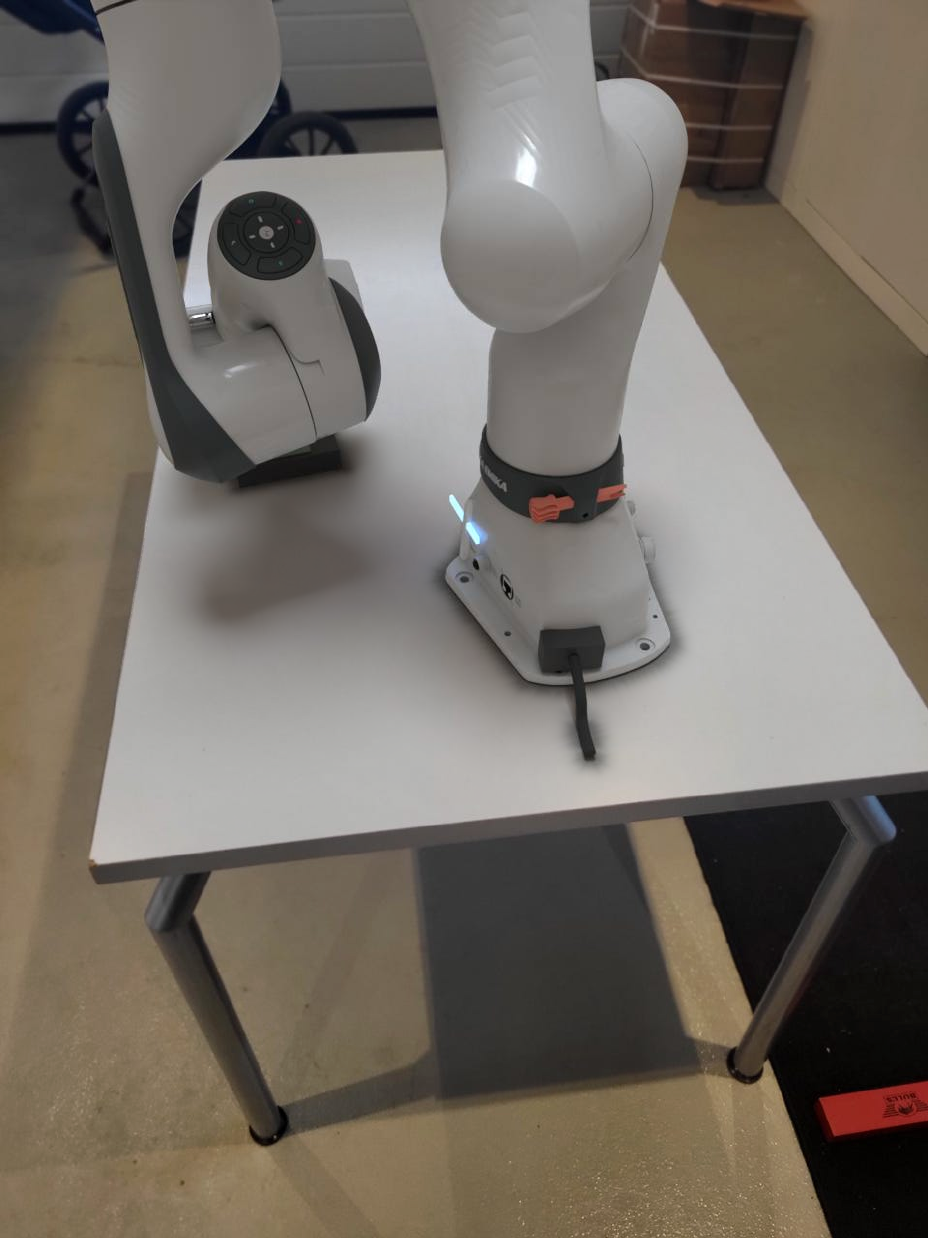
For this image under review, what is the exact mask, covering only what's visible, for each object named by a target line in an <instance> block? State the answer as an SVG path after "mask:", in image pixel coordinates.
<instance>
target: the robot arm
mask: <svg viewBox="0 0 928 1238" xmlns="http://www.w3.org/2000/svg"><path fill="white" fill-rule="evenodd" d="M89 1H90V3H91V6H92V9H93V11H94V14H97V15H96V16H95V17H96V19H97V23H98V25H99V28H100V31H101V35H102V38H103V42H104V45H105V50H106V55H107V61H108V62H107V64H108V93H107V94H108V95H107V102H106V107H105V108H103V109H102V111H101V112H100V113H99V114H98V116H97V117H96V118H95V119H94V120H93V122H92V124H91V127H92V128H91V148H92V156H93V163H94V169H95V174H96V178H97V179H96V180H97V183H98V188H99V193H100V196H101V201H102V204H103V205H102V206H103V209H104V214H105V215H104V216H105V220H106V221H105V222H106V226H107V231H108V235H109V238H110V243H111V246H112V249H113V250H112V251H113V254H114V258H115V263H116V266H117V270H118V273H119V278H120V281H121V287H122V290H123V293H124V298H125V302H126V305H127V309H128V310H127V311H128V314H129V318H130V322H131V325H132V330H133V332H134V337H135V340H136V342H137V346H138V350H139V354H140V359H141V363H142V367H143V371H144V382H145V395H146V406H147V413H148V418H149V422H150V423H149V424H150V426H151V429H152V432H153V433H152V434H153V436H154V438H155V440H156V442H157V444H158V447H159V448H160V450H161V452H162V453H163V455H164V456H165V458H166V459H167V460H168V461H169V463H170V464H171V465H172V467H173V468H174V470H175V471H177V472H179V473H182V474H183V475H186V476H189V477H191V478H194V479H198V480H200V481H204V482H207V483H212V484H217V485H218V484H219V485H222V484H225V483H227V482H228V481H231V480H233V479H235V478H236V477H237V476H239V475H241V474H243V473H245V472H247V471H249V470H251V469H253V468H255V467H257V466H256V465H257V464H260V463H262V462H265V461H268V460H270V459H273V458H275V457H278V456H281V455H283V454H286V453H288V452H291V451H293V450H296V449H299V448H301V447H304V446H306V445H309V444H312V443H314V442H316V440H319V439H321V438H324V437H327V436H329V435H332V434H334V435H335V434H337V433H339V432H342V431H344V430H346V429H349V428H352V427H354V426H356V425H359V424H361V423H363V422H366V421H368V419H369V417H370V416H371V414H372V412H373V410H374V408H375V405H376V403H377V399H378V395H379V391H380V387H381V382H382V364H381V358H380V353H379V348H378V346H377V342H376V338H375V336H374V333H373V329H372V327H371V325H370V322H369V321H368V319H367V315H366V313H365V309H364V303H363V300H362V296H361V292H360V288H359V284H358V283H357V280H356V277H355V274H354V271H353V269H352V266H351V264H350V262H349V261H348V260H347V259H339V258H338V259H337V258H336V259H334V258H325V256H324V251H323V245H322V240H321V236H320V232H319V230H318V228H317V226H316V223H315V221H314V219H313V217H312V216H311V215H310V213H309V212H308V211H307V210H306V208H305V207H304V206H303V205H301V204H300V203H299V202H297V201H296V200H294V199H293V198H291V197H289V196H287V195H284V194H281V193H278V192H274V191H268V190H258V191H257V190H256V191H250V192H247V193H243V194H241V195H238V196H236V197H235V198H233V199H231V200H230V201H228V202H227V203H226V204H225V205H224V206H223V207H222V208H221V209H220V210H219V212H218V213H217V215H216V216H215V217H214V219H213V223H212V225H211V228H210V231H209V235H208V241H207V253H206V268H207V269H206V270H207V278H208V279H207V280H208V284H209V288H210V291H209V293H210V301H211V303H208V304H201V305H195V306H188V307H186V302H185V299H184V298H185V297H184V294H183V288H182V285H181V280H180V275H179V271H178V266H177V262H176V257H175V252H174V244H173V231H174V230H173V229H174V224H175V221H176V217H177V214H178V212H179V210H180V207H181V206H182V204H183V203H184V201H185V199H186V198H187V196H188V195H189V194H190V192H192V190H193V189H194V188H195V187H196V186H197V184H198V183H199V182H201V181H202V180H203V179H204V178H205V177H206V176H207V175H208V174H209V173H210V172H212V170H213V169H215V168H216V167H217V166H219V164H221V162H223V161H224V160H225V159H226V158H228V157H229V156H230V155H231V154H232V153H233V152H234V151H235V150H237V149H238V148H239V147H240V146H242V145H243V144H244V142H245V141H247V139H248V138H250V137H251V135H252V134H253V133H254V132H255V131H256V129H257V128H258V127H259V125H260V124H261V123H262V121H263V120H264V118H265V117H266V115H267V114H268V112H269V109H270V108H271V106H272V105H273V103H274V101H275V98H276V96H277V92H278V89H279V86H280V82H281V77H282V72H283V64H284V63H283V61H284V58H283V50H282V44H281V39H280V38H281V37H280V32H279V27H278V21H277V17H276V13H275V9H274V4H273V0H89ZM404 2H405V5H406V7H407V10H408V14H409V15H410V18H411V21H412V23H413V26H414V28H415V31H416V33H417V36H418V39H419V42H420V45H421V48H422V52H423V55H424V58H425V62H426V67H427V70H428V74H429V78H430V82H431V87H432V91H433V92H432V93H433V97H434V101H435V107H436V113H437V119H438V126H439V133H440V140H441V145H442V152H443V160H444V161H443V162H444V168H445V169H444V170H445V181H446V182H445V183H446V197H445V209H444V213H443V220H442V224H441V225H442V226H441V230H440V240H439V249H440V258H441V263H442V267H443V271H444V274H445V277H446V279H447V281H448V283H449V285H450V288H451V289H452V291H453V294H455V296H456V297H457V299H458V300H459V301H460V303H461V304H462V305H463V306H464V307H465V308H466V309H467V310H468V311H469V312H470V313H471V314H472V315H473V316H474V317H476V318H477V319H479V320H480V321H481V322H483V323H485V324H486V325H488V326H490V327H492V328H494V332H493V334H492V338H491V342H490V345H489V349H488V350H489V351H488V366H487V367H488V369H487V371H488V372H487V377H488V378H487V396H486V397H487V399H486V404H487V405H486V422H485V424H484V426H483V428H482V431H481V438H480V442H479V447H478V448H479V450H478V459H479V472H480V477H479V479H478V482H477V483H476V486H474V489H473V490H472V492H471V494H470V495H469V496H468V498H467V499H466V501H465V503H464V506H463V508H462V507H461V506H460V504H459V502H458V501H457V500H456V498H455V496H454V495H453V494H450V495H449V503H450V504H451V506H452V507H453V509H454V511H455V512H456V514H457V516H458V517H459V519H460V521H461V522H462V524H461V525H462V526H461V534H460V535H461V536H460V546H459V555H457V556H456V557H455V558H453V560H452V561H450V562H449V564H448V565H447V567H446V569H445V575H444V579H445V582H446V583H447V585H448V586H449V587H450V588H451V590H452V591H453V592H454V594H456V596H457V598H459V599H460V601H461V602H462V603H463V604H464V606H465V607H466V609H467V610H468V611H469V612H470V613H471V615H472V616H473V617H474V618H475V620H476V621H477V622H478V623H479V625H480V626H481V627H482V629H483V630H484V631H485V632H486V634H487V635H489V638H490V639H491V640H492V641H493V642H494V643H495V645H496V646H497V647H498V649H499V650H500V651H501V652H502V654H503V655H504V656H505V657H506V659H507V660H508V661H509V662H510V663H511V665H512V666H513V667H514V669H515V670H516V671H517V672H518V674H520V676H521V677H522V678H524V680H526V681H528V682H531V683H534V684H535V683H536V684H542V685H549V686H550V685H551V686H567V685H572V686H573V691H574V698H575V721H576V726H577V731H578V735H579V740H580V743H581V745H582V749H583V753H584V756H585V757H587V758H591V757H594V756H595V755H596V754H597V751H596V747H595V744H594V741H593V737H592V734H591V730H590V725H589V720H588V718H589V717H588V699H587V692H586V684H585V683H591V682H596V681H599V680H604V679H609V678H612V677H615V676H619V675H621V674H625V673H628V672H630V671H634V670H636V669H638V668H641V667H642V666H644V665H646V664H649V663H651V661H653V660H654V659H656V658H658V657H659V656H660V655H661V654H663V652H665V650H666V649H667V648H668V646H669V645H670V643H671V631H670V628H669V625H668V623H667V621H666V617H665V614H664V613H663V610H662V608H661V606H660V603H659V600H658V597H657V595H656V593H655V590H654V587H653V585H652V581H651V579H650V576H649V575H650V574H649V572H648V568H647V564H648V563H653V562H654V561H655V559H656V554H657V553H656V550H657V549H656V544H655V540H654V539H653V538H652V536H641V537H639V536H638V533H637V530H636V527H635V524H634V520H633V516H635V514H636V511H637V509H636V504H635V502H634V500H627V498H626V493H625V491H624V490H625V489H627V488H628V487H627V486H628V485H627V484H626V483H625V479H624V467H625V455H624V453H623V441H622V436H621V433H620V432H621V426H622V419H623V413H624V407H625V403H626V402H625V401H626V395H627V389H628V385H629V384H628V383H629V377H630V371H631V367H632V362H633V357H634V354H635V350H636V345H637V341H638V338H639V335H640V332H641V328H642V326H643V322H644V319H645V315H646V313H647V309H648V306H649V302H650V299H651V295H652V292H653V288H654V286H655V285H654V284H655V281H656V278H657V274H658V272H659V271H658V270H659V267H660V264H661V263H660V262H661V259H662V256H663V251H664V248H665V243H666V240H667V236H668V232H669V228H670V224H671V219H672V216H673V211H674V207H675V203H676V199H677V198H678V193H679V190H680V187H681V184H682V180H683V177H684V173H685V169H686V165H687V161H688V154H689V153H688V152H689V137H688V130H687V127H686V123H685V121H684V118H683V116H682V112H681V111H680V109H679V106H677V105H676V103H675V102H674V100H673V99H672V98H671V97H670V95H668V94H667V92H665V91H664V90H663V89H661V88H660V87H659V86H657V85H655V84H653V83H651V82H650V81H646V80H644V79H639V78H635V77H623V78H622V77H620V78H619V77H618V78H610V79H604V80H599V81H597V76H596V75H597V74H596V69H595V67H596V66H595V60H594V58H595V57H594V50H593V40H592V30H591V8H590V7H591V0H404Z"/></svg>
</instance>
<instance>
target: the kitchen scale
mask: <svg viewBox="0 0 928 1238" xmlns="http://www.w3.org/2000/svg"><path fill="white" fill-rule="evenodd" d="M335 435H336V434H335V433H334V434H332V435H329V436H327V437H324V438H321V439H319V440H316V442H314V443H312V444H309V445H306V446H304V447H301V448H299V449H296V450H293V451H291V452H288V453H286V454H283V455H281V456H278V457H275V458H273V459H270V460H268V461H265V462H262V463H260V464H257V465H256V466H257V467H255V468H253V469H251V470H249V471H247V472H245V473H243V474H241V475H239V476H237V477H235V478H236V482H237V486H238V489H244V488H249V487H254V486H258V485H264V484H269V483H273V482H278V481H284V480H288V479H289V480H290V479H293V478H295V479H296V478H299V477H305V476H309V475H315V474H319V473H325V472H330V471H334V470H340V469H343V459H342V451H341V450H342V449H341V447H340V445H339V442H338V440H337V438H336V436H335Z"/></svg>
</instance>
